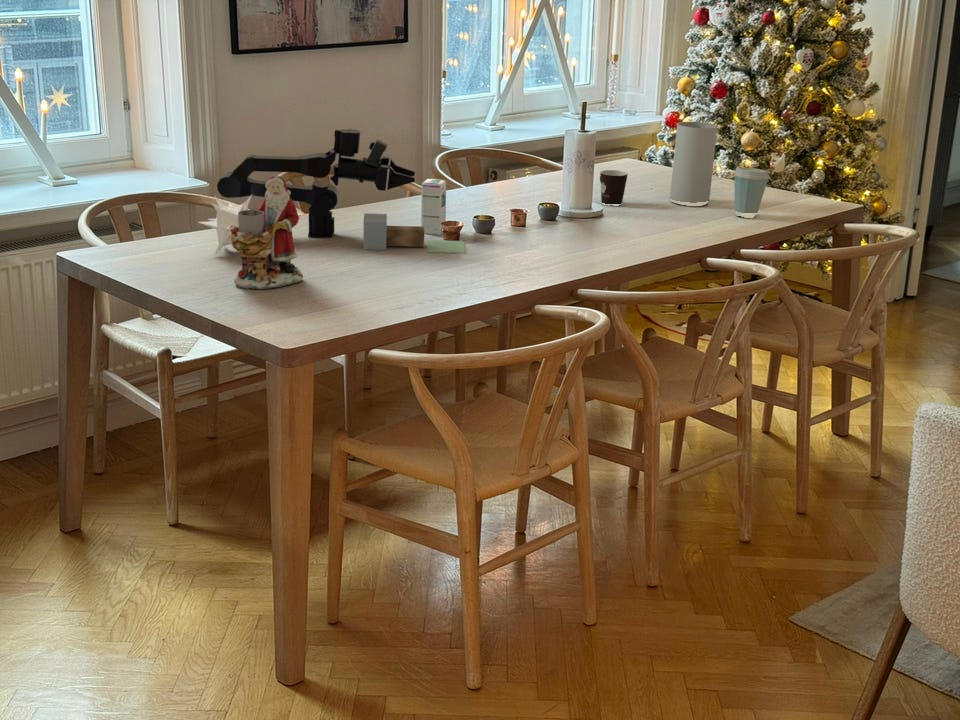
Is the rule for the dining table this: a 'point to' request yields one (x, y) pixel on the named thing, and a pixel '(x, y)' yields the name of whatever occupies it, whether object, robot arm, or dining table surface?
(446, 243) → the green mat
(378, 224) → the upright grey block
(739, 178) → the disposable coffee cup
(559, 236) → the dining table surface
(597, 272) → the dining table surface
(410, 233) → the walnut block
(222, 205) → the star ornament
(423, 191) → the syrup box
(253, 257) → the santa figurine
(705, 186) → the cylinder vase
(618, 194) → the coffee mug
